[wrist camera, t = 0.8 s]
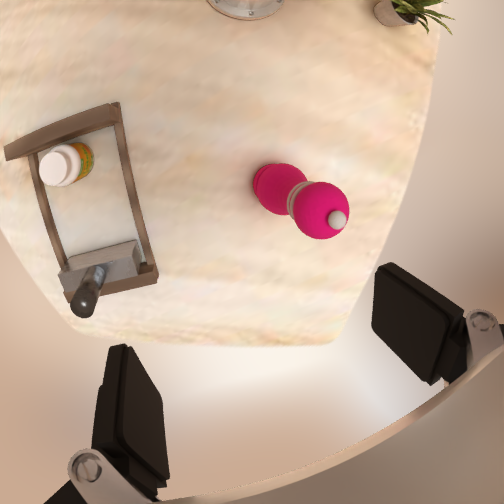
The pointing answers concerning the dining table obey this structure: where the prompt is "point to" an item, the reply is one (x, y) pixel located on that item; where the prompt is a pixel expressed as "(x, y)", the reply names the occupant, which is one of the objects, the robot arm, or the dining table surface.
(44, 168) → the supplement bottle
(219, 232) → the dining table surface
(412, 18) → the house plant
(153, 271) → the vise frame
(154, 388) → the robot arm
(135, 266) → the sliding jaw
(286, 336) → the dining table surface
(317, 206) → the pepper mill
